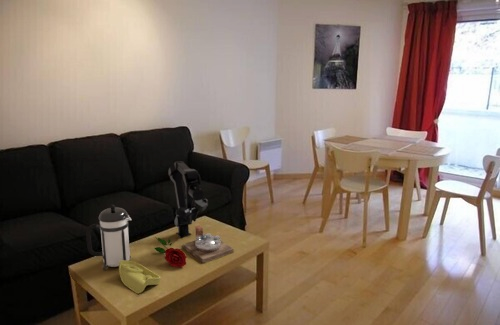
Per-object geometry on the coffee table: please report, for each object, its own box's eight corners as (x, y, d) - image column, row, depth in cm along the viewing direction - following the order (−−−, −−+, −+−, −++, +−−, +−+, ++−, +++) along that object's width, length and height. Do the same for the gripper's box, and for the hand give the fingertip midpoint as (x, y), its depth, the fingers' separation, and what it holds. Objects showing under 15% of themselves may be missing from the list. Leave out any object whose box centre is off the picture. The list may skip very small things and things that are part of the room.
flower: (149, 227, 193) (180, 253, 172) (164, 230, 200) (195, 255, 179) (142, 243, 193) (172, 271, 172) (157, 246, 200) (187, 273, 179)
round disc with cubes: (225, 248, 192) (225, 235, 190) (202, 254, 185) (202, 241, 183) (208, 234, 207) (208, 223, 205) (186, 240, 200) (186, 228, 198)
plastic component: (162, 278, 164) (146, 278, 155) (157, 294, 163) (139, 295, 155) (134, 260, 175) (117, 260, 167) (129, 276, 174) (111, 276, 166)
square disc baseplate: (183, 247, 196) (183, 244, 196) (212, 238, 207) (212, 235, 207) (203, 263, 181) (203, 259, 181) (233, 252, 192) (233, 248, 192)
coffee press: (121, 252, 190) (116, 196, 183) (139, 263, 180) (136, 204, 173) (88, 265, 177) (82, 206, 170) (106, 277, 167) (101, 215, 160)
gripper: (193, 202, 180) (193, 232, 184) (214, 192, 196) (214, 219, 200) (174, 198, 185) (175, 227, 189) (197, 188, 201) (197, 215, 205)
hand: (191, 222), depth 196 cm, fingers open, 4 cm apart
